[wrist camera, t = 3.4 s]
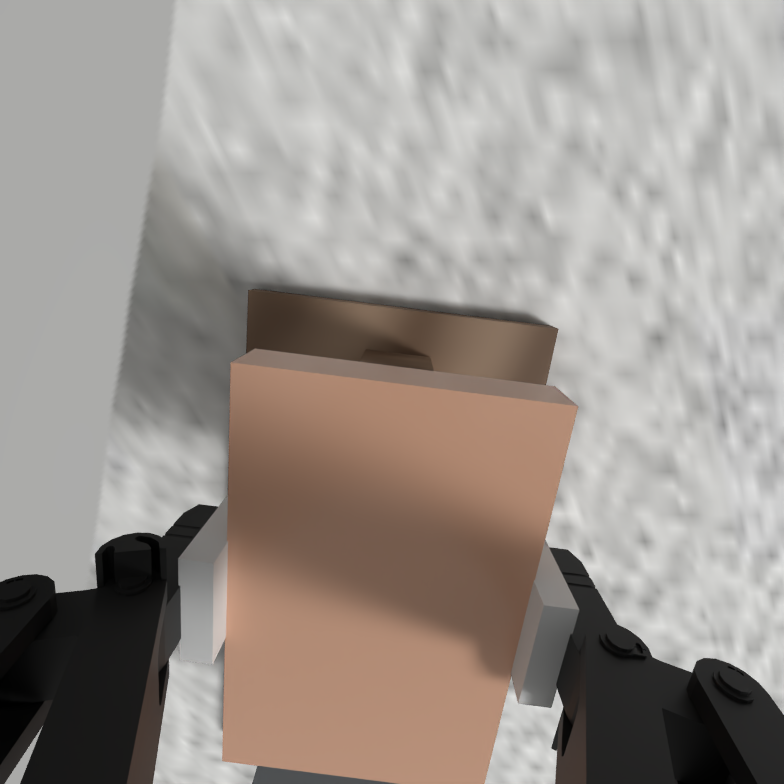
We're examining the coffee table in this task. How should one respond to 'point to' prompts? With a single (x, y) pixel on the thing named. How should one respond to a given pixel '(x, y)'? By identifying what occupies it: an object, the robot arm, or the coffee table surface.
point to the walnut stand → (399, 336)
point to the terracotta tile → (380, 562)
